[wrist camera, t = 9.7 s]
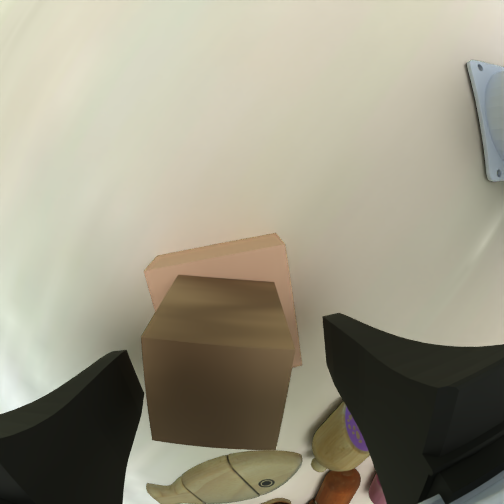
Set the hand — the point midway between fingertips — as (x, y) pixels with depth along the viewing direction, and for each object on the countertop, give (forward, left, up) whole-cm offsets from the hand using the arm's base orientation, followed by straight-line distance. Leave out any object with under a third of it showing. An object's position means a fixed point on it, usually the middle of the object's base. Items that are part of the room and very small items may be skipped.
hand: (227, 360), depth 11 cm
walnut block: (0, 0, -3) cm, 3 cm away
